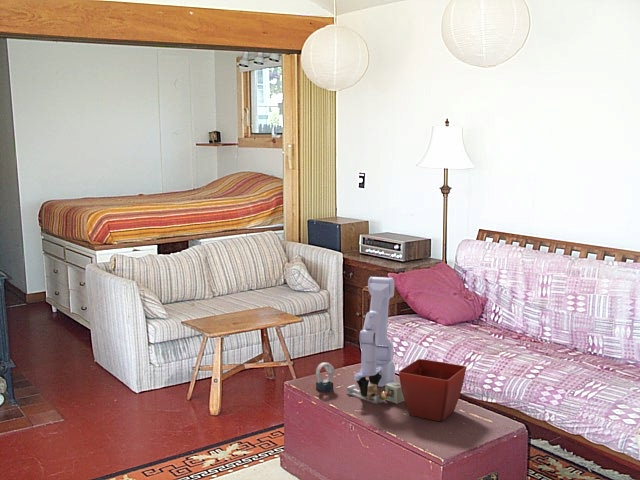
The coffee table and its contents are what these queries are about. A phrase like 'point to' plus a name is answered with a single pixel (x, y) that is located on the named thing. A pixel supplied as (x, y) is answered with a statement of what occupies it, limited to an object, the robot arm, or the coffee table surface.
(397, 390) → the cabinet
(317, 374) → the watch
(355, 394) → the rail
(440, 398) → the plant pot
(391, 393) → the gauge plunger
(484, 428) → the coffee table surface
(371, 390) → the carriage
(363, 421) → the coffee table surface
